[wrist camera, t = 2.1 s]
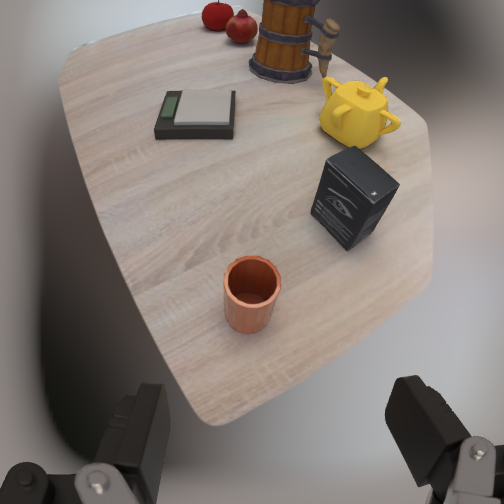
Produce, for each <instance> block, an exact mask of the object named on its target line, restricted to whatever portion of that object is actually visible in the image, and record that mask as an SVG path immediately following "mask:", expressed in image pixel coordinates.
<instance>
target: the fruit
mask: <svg viewBox="0 0 504 504" xmlns="http://www.w3.org/2000/svg"><path fill="white" fill-rule="evenodd" d="M225 30H226V34H227V35H228V37H229V38H231V39H232V40H234V41H236V42H238V43H245V42H248V41H250V40H251V39H253V38H254V37H255V35H256V34H257V24H256V21H255V20H254V19H253V18H252V17H250V16H248V14H247V12H246V11H245V10H243V9H242V10H240V11H239V12H238V14H237V15H236V16H233V17H232V18H231V19H230V20H229V21H228V23H227V25H226V29H225Z"/></svg>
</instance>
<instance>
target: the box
mask: <svg viewBox="0 0 504 504" xmlns="http://www.w3.org/2000/svg"><path fill="white" fill-rule="evenodd" d="M399 186H400V184H399V183H398V182H397V181H396V180H394V179H393V178H392V177H391V176H390V175H389V174H388V173H387V172H386V171H384V170H383V169H382V168H381V167H380V166H379V165H378V164H377V163H375V162H374V161H373V160H372V159H371V158H370V157H368V156H367V155H366V154H365V153H364V152H362V151H361V150H360V149H359V148H358V147H357V146H352V147H349V148H347V149H345V150H343V151H341V152H339V153H337V154H335V155H333V156H331V157H330V158H328V159H327V160H326V162H325V166H324V170H323V173H322V176H321V180H320V183H319V186H318V190H317V193H316V196H315V200H314V203H313V206H312V209H311V213H312V214H313V215H314V216H315V217H316V218H317V219H318V221H319V222H320V223H321V224H322V225H323V226H324V227H325V228H326V229H327V230H328V231H329V232H330V233H331V234H332V235H333V236H334V237H335V238H336V239H337V240H338V241H339V243H340V244H341V245H342V246H343V247H344V248H345V249H346V250H347V251H348V250H350V249H351V248H353V247H354V246H355V245H357V244H358V243H359V242H361V241H362V240H363V239H364V238H366V237H367V236H368V235H370V234H371V233H372V232H373V230H374V229H375V227H376V225H377V224H378V222H379V220H380V219H381V217H382V215H383V214H384V212H385V210H386V208H387V207H388V205H389V203H390V202H391V200H392V198H393V197H394V195H395V193H396V191H397V189H398V187H399Z"/></svg>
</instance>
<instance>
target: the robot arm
mask: <svg viewBox="0 0 504 504" xmlns="http://www.w3.org/2000/svg"><path fill="white" fill-rule="evenodd" d="M385 420H386V424H387V426H388V428H389V430H390V432H391V434H392V436H393V438H394V439H395V442H396V443H397V445H398V447H399V449H400V451H401V453H402V455H403V457H404V459H405V461H406V463H407V465H408V467H409V469H410V471H411V473H412V475H413V478H414V479H415V482H416V484H417V486H418V487H421V486H424V485H427V484H430V485H431V487H432V488H431V490H430V491H429V493H428V497H427V500H426V503H425V504H504V445H498V446H494V445H493V444H492V443H491V442H490V441H489V440H487V439H485V438H483V437H479V436H473V437H472V436H471V435H470V434H469V432H468V431H467V429H466V428H465V427H464V425H463V424H462V423H461V421H460V420H459V418H458V417H457V416H456V414H455V413H454V412H453V411H452V409H451V408H450V406H449V405H448V404H446V401H445V400H444V398H443V397H442V396H441V395H440V393H438V392H437V391H435V390H434V389H433V388H431V387H430V386H426V385H425V384H424V382H423V381H422V380H421V378H420V377H419V376H417V375H414V376H408V377H400V378H398V379H397V380H396V381H395V383H394V386H393V389H392V392H391V395H390V398H389V401H388V404H387V406H386V409H385ZM169 433H170V412H169V406H168V401H167V393H166V387H165V385H164V384H159V383H149V382H142V383H141V385H140V388H139V390H138V393H137V396H131V395H126V396H125V397H124V398H123V399H122V400H121V401H120V402H119V403H117V405H116V407H115V409H114V412H113V414H112V418H111V419H110V421H109V424H108V427H107V429H106V431H105V434H104V437H103V439H102V441H101V444H100V446H99V449H98V451H97V454H96V457H95V459H94V461H93V463H92V464H88V465H86V466H84V467H82V468H81V469H80V470H79V471H78V472H77V474H71V475H54V474H53V475H52V474H46V472H45V471H44V470H43V468H42V467H40V466H39V465H37V464H35V463H31V462H23V463H19V464H17V465H15V466H13V467H12V468H11V469H10V470H9V471H8V474H7V475H6V477H5V480H4V482H3V484H2V487H1V488H0V504H156V501H157V496H158V490H159V485H160V479H161V474H162V468H163V463H164V458H165V453H166V448H167V442H168V438H169Z"/></svg>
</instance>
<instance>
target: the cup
mask: <svg viewBox="0 0 504 504" xmlns="http://www.w3.org/2000/svg"><path fill="white" fill-rule="evenodd" d="M280 289H281V276H280V274H279V272H278V270H277V268H276V266H274V265H273V264H272V263H271V262H270V261H269V260H267V259H265V258H262V257H260V256H244V257H241V258H238V259H236V260H235V261H234V262H233V263H231V264H230V265H229V266H228V268H227V270H226V272H225V274H224V305H225V316H226V319H227V322H228V323H229V325H230V326H231V327H232V328H233V329H235V330H236V331H238V332H241V333H246V334H250V333H255V332H258V331H260V330H261V329H262V328H264V327H265V326H266V324H267V323H268V321H269V318H270V316H271V313H272V310H273V308H274V305H275V302H276V300H277V297H278V294H279V291H280Z"/></svg>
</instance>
